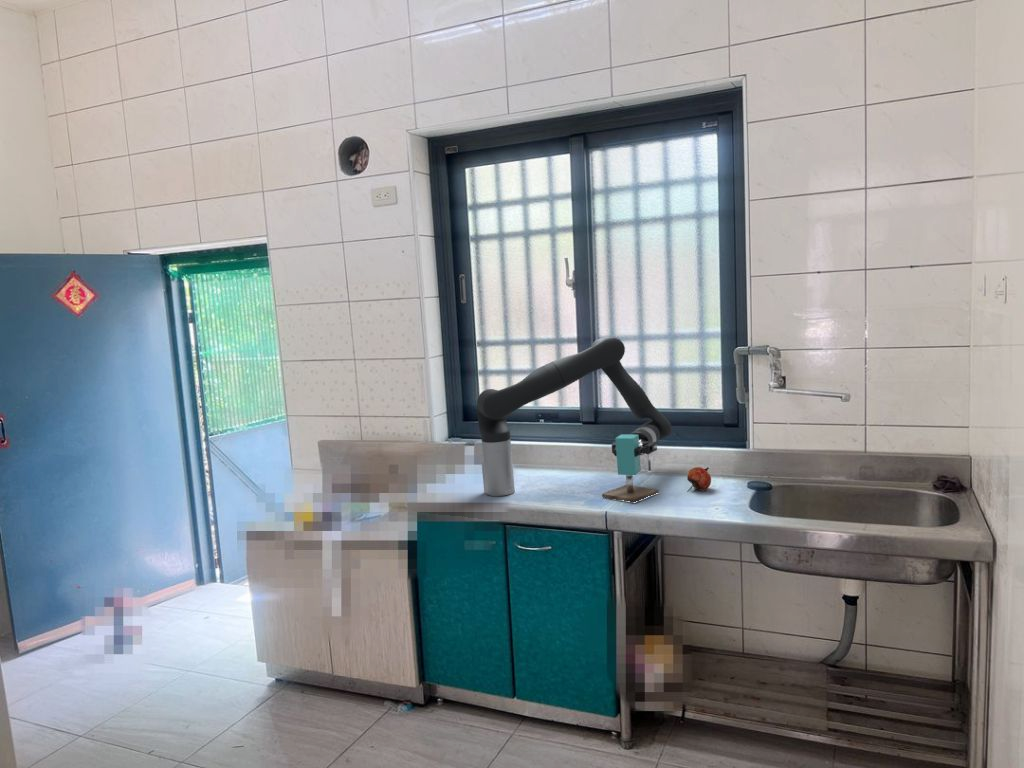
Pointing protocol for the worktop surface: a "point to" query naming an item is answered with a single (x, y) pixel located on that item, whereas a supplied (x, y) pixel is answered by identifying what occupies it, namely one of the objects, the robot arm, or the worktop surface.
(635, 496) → the base plate
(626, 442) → the block
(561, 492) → the worktop surface
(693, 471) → the pomegranate
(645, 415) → the robot arm
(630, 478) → the post
